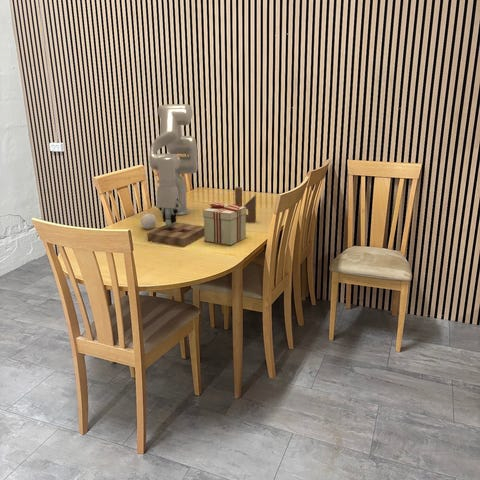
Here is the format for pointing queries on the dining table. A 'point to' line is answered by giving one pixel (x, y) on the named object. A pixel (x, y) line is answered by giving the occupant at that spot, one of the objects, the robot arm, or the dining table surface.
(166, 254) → the dining table surface
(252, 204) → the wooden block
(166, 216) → the peg
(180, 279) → the dining table surface
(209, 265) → the dining table surface
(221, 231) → the gift box
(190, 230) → the board
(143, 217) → the geometric ball
